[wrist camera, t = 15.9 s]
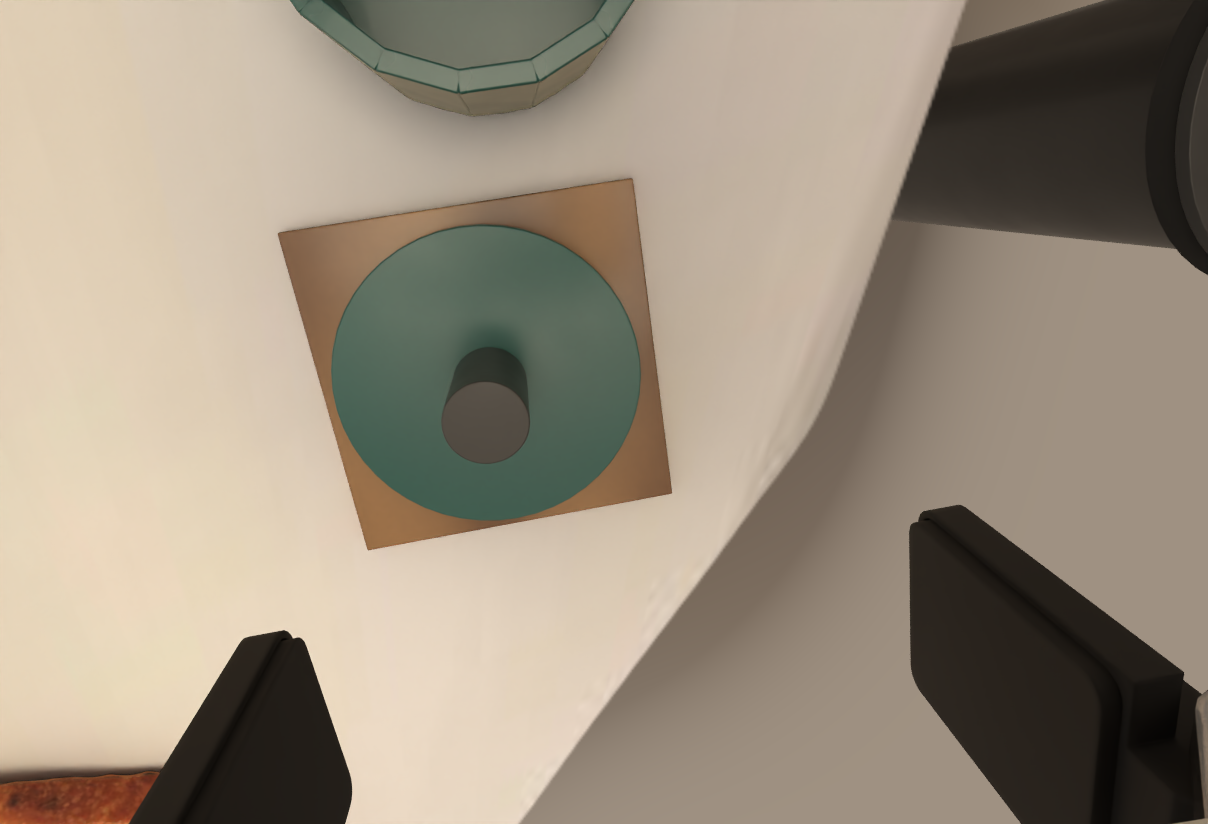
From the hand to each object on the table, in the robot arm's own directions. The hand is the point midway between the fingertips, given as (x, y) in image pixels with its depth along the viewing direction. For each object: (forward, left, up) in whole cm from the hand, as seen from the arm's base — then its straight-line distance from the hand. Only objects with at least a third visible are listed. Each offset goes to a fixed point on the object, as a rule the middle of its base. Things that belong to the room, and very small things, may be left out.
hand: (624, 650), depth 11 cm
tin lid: (+3, +1, -22) cm, 22 cm away
